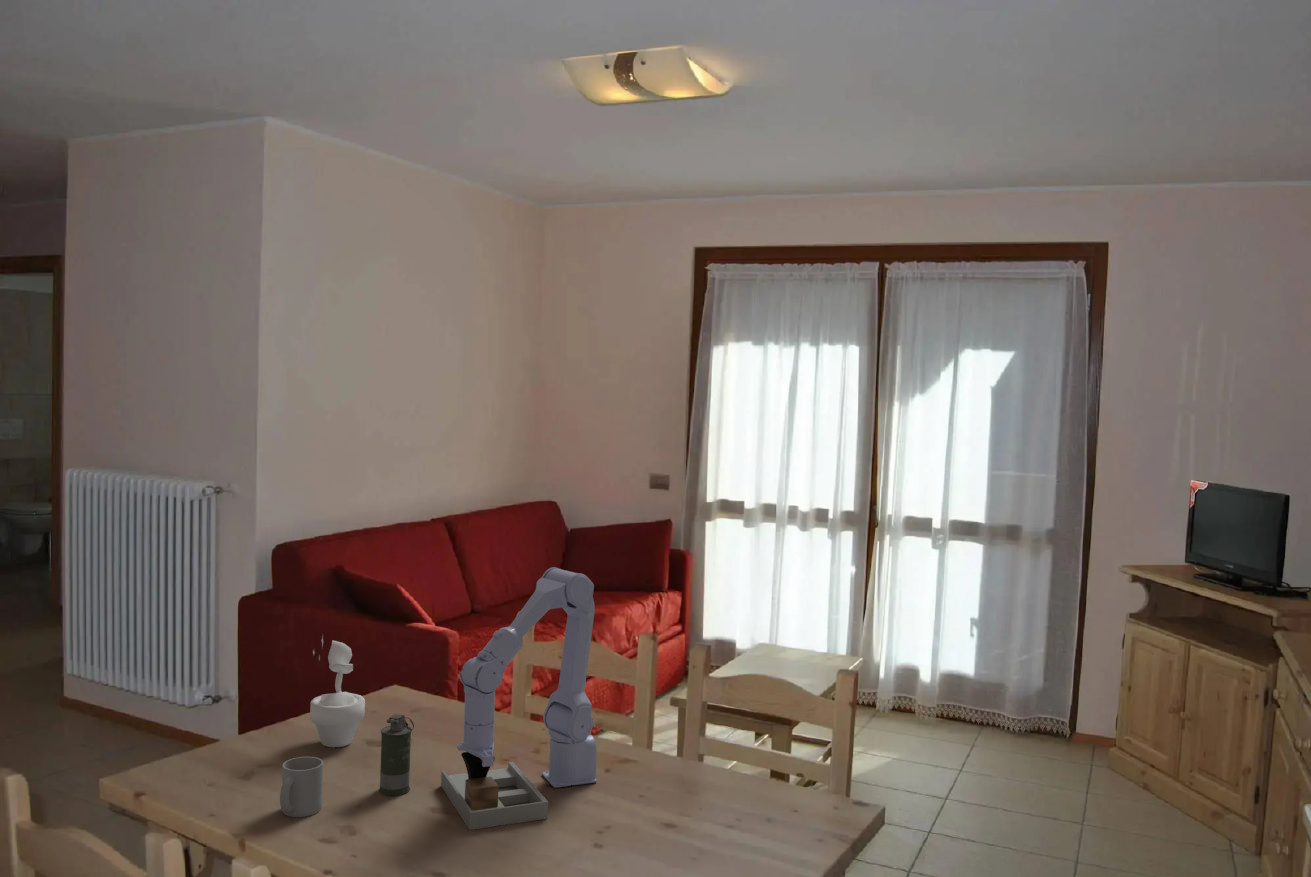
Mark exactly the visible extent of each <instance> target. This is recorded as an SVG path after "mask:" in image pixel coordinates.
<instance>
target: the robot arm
mask: <svg viewBox="0 0 1311 877" xmlns="http://www.w3.org/2000/svg"><path fill="white" fill-rule="evenodd" d="M535 585H536V586H535V590H534V592H533V593H532V595H531V596H530V597H529V599H528V600H527V602H526V603H525V604H524V606H523V607H522V609H520V611H519V612H518V613H517V615H516V617H515V618H514V620H513V621H512V622H511V624H510V625H508V626H505V627H501V628H499V630H495V632H494V633H492V637H491V639H490V640H489V641H488V642H487V644H486V645H485V646H484V647H483V649H482V650H480V651H479V652H478V653H477V655H476V656H474V657H472V658H469V659H468V660H467V661H466V662H464V664H463V665H462V668H461V671H460V672H459V673H458V674H459V675H458V676H459V677H458V678H459V680H460V682H461V683H462V684H463V693H464V711H463V715H464V716H463V740H462V743H457V744H456V748H457V750H458V751H461V757H462V760H463V762H464V765H465V767H466V771H467V772H466V773H468V779H474V778H482V777H487V774H488V771H489V770H491V767H493V766H494V762H495V756H494V750H495V742H494V734H495V709H496V708H495V704H496V689H497V688H498V687H499V686H501V684H502V682H503V676H504V673H505V672H506V668H507V667H508V665H509V664H510V663H511V662H512V660H514V658H515V656H517V654H518V653H519V652H520V650H521V649H523V645H524V641H523V640H524V639H523V638H524V637H525V636H526V635H527V634H528V633H529V632H530V630H532V628H533V627H534V626H535V625H537V623H538V622H539V621H540V620H541V619H542V618H543V616H545V615H546V613H547V612H548V611H549V610H555V609H563V611H564V612H565V613H566V614H567V616H566V617H567V619H566V625H565V632H564V640H563V641H564V642H563V647H562V656H561V665H560V671H559V681H558V687H557V689H556V690H554V692H552V693H551V694H550V695H549V698H548V699H549V700H548V702H547V706H546V708H545V709H544V711H543V712H544V713H543V717H542V718H543V724H544V726H545V727H546V729H548V735H549V736H550V737H549V754H548V755H549V757H548V771H542V773H541V774H542V776H543V778H545V779H546V781H548V783H549V784H550V785H551V786H552V787H553V788H556V789H557V788H562V787H564V788H566V787H572V786H579V785H585V784H586V785H587V784H594V783H597V782H598V779H596V778H597V775H596V774H597V756H598V754H597V753H598V750H597V743H596V740H595V738H594V736H593V735H592V734H591V732H592V730H593V727H594V718H593V714H592V713H593V712H592V708H593V705H592V703H591V702H592V701H591V700H590V699H589V697H588V696H587V694H586V692H585V690H586V689H585V688H586V684H587V683H586V682H587V673H588V666H589V658H590V650H591V644H592V643H591V642H592V637H593V636H592V634H593V626H594V618H595V612H596V611H595V610H596V606H595V605H596V604H595V600H594V597H593V596H594V589H595V584H594V583H593V582H592V580H591V579H590V578H589V577H588V576H587V575H586V574H584V573H578V572H573V571H569V570H566V569H565V570H564V569H561V568H560V567H556V566H555V567H550V568H548V569H546V570H545V571H544V572H543V575H542V576H541V577H540V578H539V579H538V580H537V581H536V584H535ZM462 751H463V752H462ZM571 785H572V786H571Z"/></svg>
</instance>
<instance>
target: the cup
mask: <svg viewBox="0 0 1311 877" xmlns="http://www.w3.org/2000/svg"><path fill="white" fill-rule="evenodd" d="M281 771H282V775H281V776H282V778H281V780H282V781H281V787H280V791H279V792H280V794H279V805H280V809H281V812H282V814H284V816H286V815H287V816H286V817H289V816H292V817H291V818H306V817H305V816H307V817H312V816H313V815H316V814H318V813H319V812H320V811H321V809H322V806H323V788H324V787H323V784H324V782H323V781H324V761H323V759H321V758H319V757H315V756H299V757H294V758H290V759H288V760H287V759H286V761H284V762H283V763H282V770H281ZM317 812H318V813H317Z"/></svg>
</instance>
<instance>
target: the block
mask: <svg viewBox="0 0 1311 877" xmlns="http://www.w3.org/2000/svg"><path fill="white" fill-rule="evenodd" d="M498 788H499V786H498V785H497V783H496V782H495V781H494V780H493V778H492V777H482V778H474V779H466V781H465V801H466V803H467V804H468V806H469V807H470V808H471V810H477V809H485V808H492V807H498Z"/></svg>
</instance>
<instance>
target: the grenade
mask: <svg viewBox="0 0 1311 877" xmlns="http://www.w3.org/2000/svg"><path fill="white" fill-rule="evenodd" d="M406 719H408V720H409V722H410V723H411V724H412V728H411V727H410V726H409V724H408V722H407V721H406ZM386 723H388V724H390V725H388V726H385V727H383V728H382V729H381V730H380V734H381V737H380V738H381V741H380V742H381V744H380V745H381V746H380V771H379V772H380V773H379V774H380V776H379V777H380V778H379V789H378V792H379V794H380V795H383V796H387V797H398V796H402V795H406V794H407V793H409V792H410V790H411V788H410V773H411V770H410V768H411V746H412V745H411V743H412V742H411V740H412V732H413V730H414V729H415V724H414V722H413V720H412V719H411V718H409V717H407V716H406V717H405V715H404V714H399V713H398V714H397V713H394V714H392V715H391V716H389V717H388V719H386Z"/></svg>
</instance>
